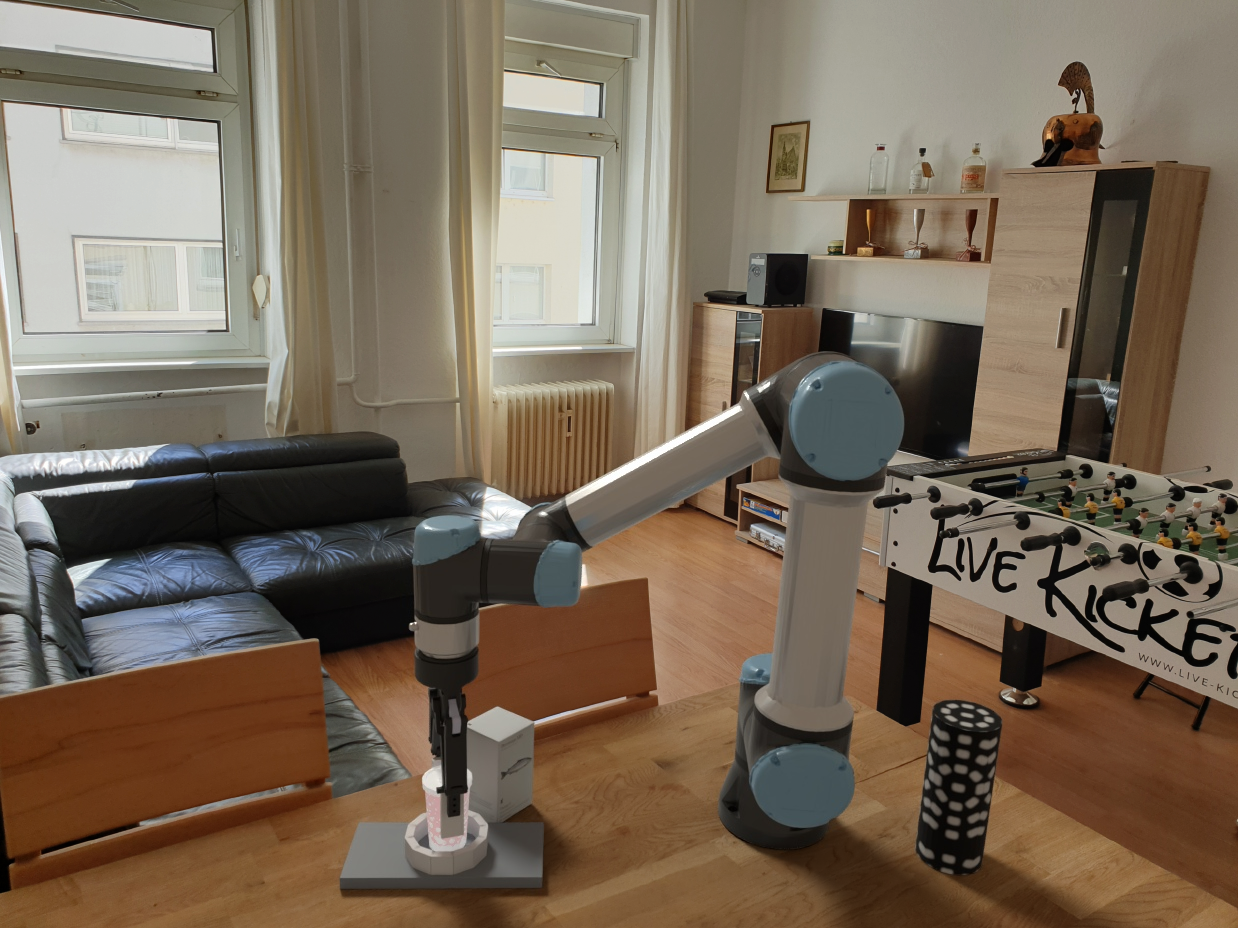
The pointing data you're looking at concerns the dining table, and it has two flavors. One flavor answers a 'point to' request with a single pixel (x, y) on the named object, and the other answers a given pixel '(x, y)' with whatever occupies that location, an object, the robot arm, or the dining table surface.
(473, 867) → the collar board
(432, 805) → the beverage cup
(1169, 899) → the dining table surface
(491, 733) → the supplement box
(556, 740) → the dining table surface
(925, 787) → the spotted tube
